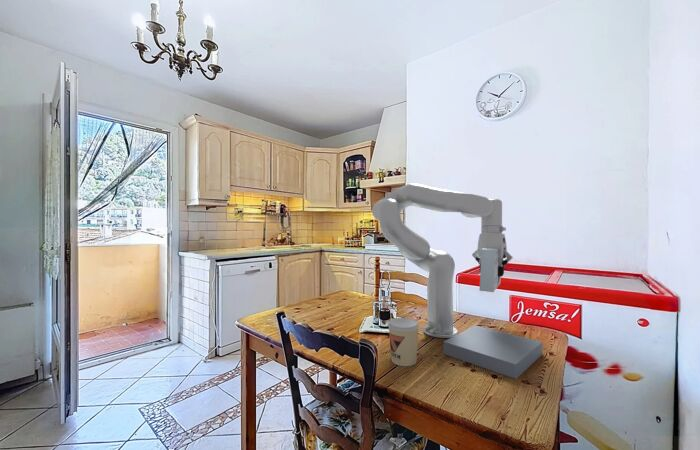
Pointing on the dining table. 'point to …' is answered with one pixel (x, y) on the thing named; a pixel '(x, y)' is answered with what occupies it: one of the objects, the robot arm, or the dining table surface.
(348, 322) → the dining table surface
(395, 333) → the coffee cup
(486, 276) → the skincare box
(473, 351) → the podium
